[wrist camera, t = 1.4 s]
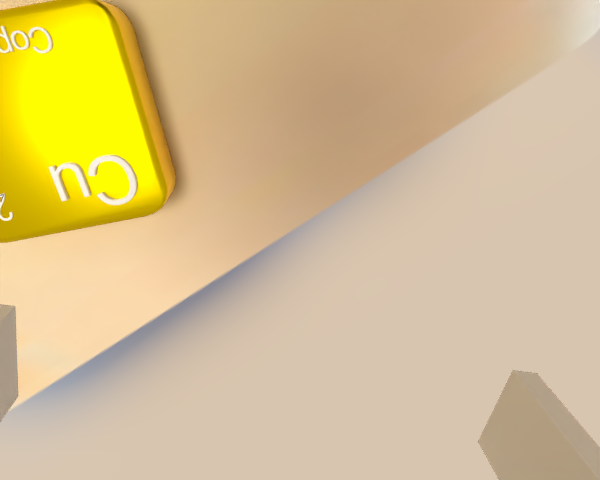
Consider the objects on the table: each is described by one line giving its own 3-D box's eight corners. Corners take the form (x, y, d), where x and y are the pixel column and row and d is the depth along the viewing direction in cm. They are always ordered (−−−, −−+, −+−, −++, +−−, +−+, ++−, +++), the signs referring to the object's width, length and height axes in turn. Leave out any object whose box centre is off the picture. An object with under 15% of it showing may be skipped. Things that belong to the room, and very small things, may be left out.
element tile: (126, -3, 32) (105, -12, 28) (183, 195, 38) (173, 214, 33) (-83, 35, 32) (-138, 32, 27) (7, 228, 38) (-26, 251, 33)
